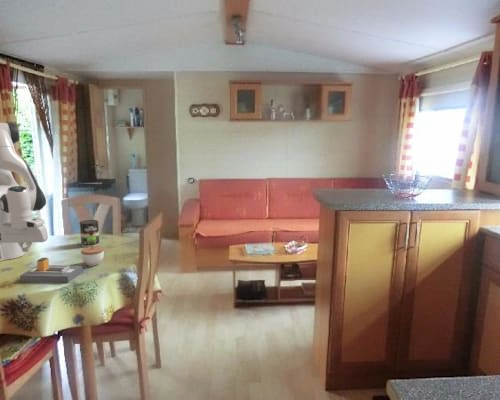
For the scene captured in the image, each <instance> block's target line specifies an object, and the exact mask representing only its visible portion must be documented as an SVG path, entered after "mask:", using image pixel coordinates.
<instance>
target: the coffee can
mask: <svg viewBox="0 0 500 400" xmlns="http://www.w3.org/2000/svg"><path fill="white" fill-rule="evenodd" d="M79 228H80V246H82V247H84V248H87V247H91V246H100V244H101V243H100V230H99V220H97V219H86V220H82V221H79Z"/></svg>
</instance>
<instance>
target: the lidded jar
mask: <svg viewBox="0 0 500 400" xmlns="http://www.w3.org/2000/svg"><path fill="white" fill-rule="evenodd" d="M104 250H105V248H104V247H103V246H100V245H97V246H91V247H84V248H82V249H81V250H80V253H81V258H82V260H83V261H82V262H84V263H85V264H86V265H87V266H90V267H93V266H99V265H100V264H101V262H102V261H103V260H104V257H105V251H104Z"/></svg>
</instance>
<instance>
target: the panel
mask: <svg viewBox="0 0 500 400" xmlns="http://www.w3.org/2000/svg"><path fill="white" fill-rule="evenodd" d="M54 265H55V264H52V265H50V264H49V269H48V270H46V271H38V268H37V265H35V266H34V267H32V268H31V269H28V270H27V271H25V272H24V273H22V274H20V275H19V278H20V283H21V282H22V283H55V284H56V283H59V284H60V283H62V284H63V283H64V284H68V283H70V282H71V281H73V280H74V279H76V278H77V277H78V276H79V275H81V274H82V273H83V272H84V271H83V266H82V265H63V266H54Z"/></svg>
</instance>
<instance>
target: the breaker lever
mask: <svg viewBox="0 0 500 400" xmlns="http://www.w3.org/2000/svg"><path fill="white" fill-rule="evenodd" d="M49 260H50V259H49V258H48V257H41V258H39V259H37V261H36V266H37V268H38V271H46V270H48V269H49V265H50V261H49Z"/></svg>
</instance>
